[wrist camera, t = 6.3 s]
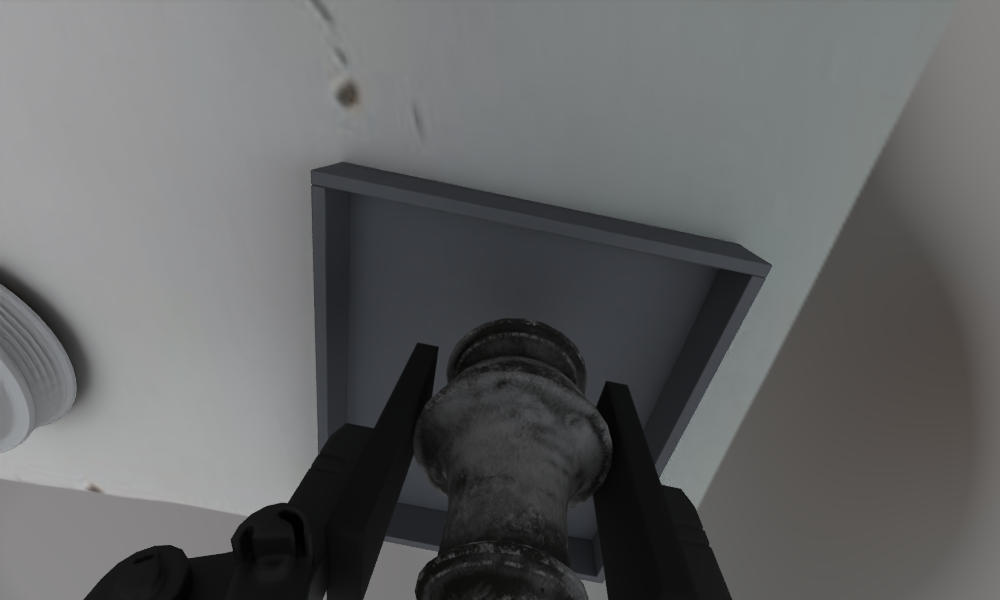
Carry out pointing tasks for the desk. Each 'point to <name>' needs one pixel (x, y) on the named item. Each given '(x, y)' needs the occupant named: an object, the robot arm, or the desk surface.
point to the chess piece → (510, 463)
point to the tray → (512, 309)
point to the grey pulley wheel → (30, 373)
